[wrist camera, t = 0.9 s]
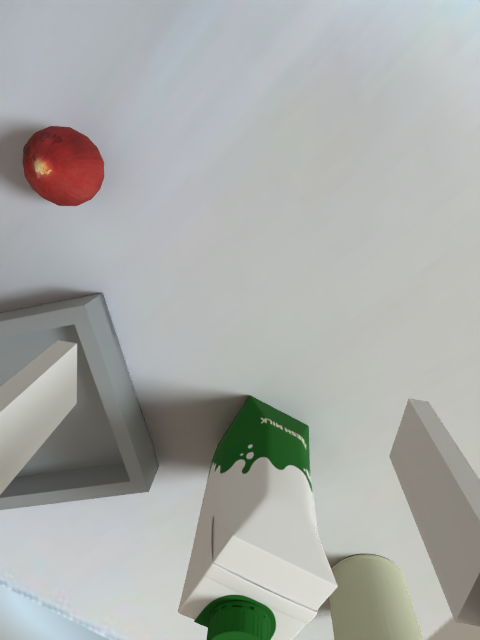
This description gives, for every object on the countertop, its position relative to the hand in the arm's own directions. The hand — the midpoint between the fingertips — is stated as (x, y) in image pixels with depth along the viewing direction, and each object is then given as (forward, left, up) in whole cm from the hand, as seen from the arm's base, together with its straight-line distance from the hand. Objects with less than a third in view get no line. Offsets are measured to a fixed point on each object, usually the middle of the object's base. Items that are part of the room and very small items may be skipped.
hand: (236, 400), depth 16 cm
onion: (-12, -13, -23) cm, 29 cm away
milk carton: (+17, -3, -23) cm, 29 cm away
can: (+39, +5, -23) cm, 46 cm away
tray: (+9, -25, -23) cm, 35 cm away
